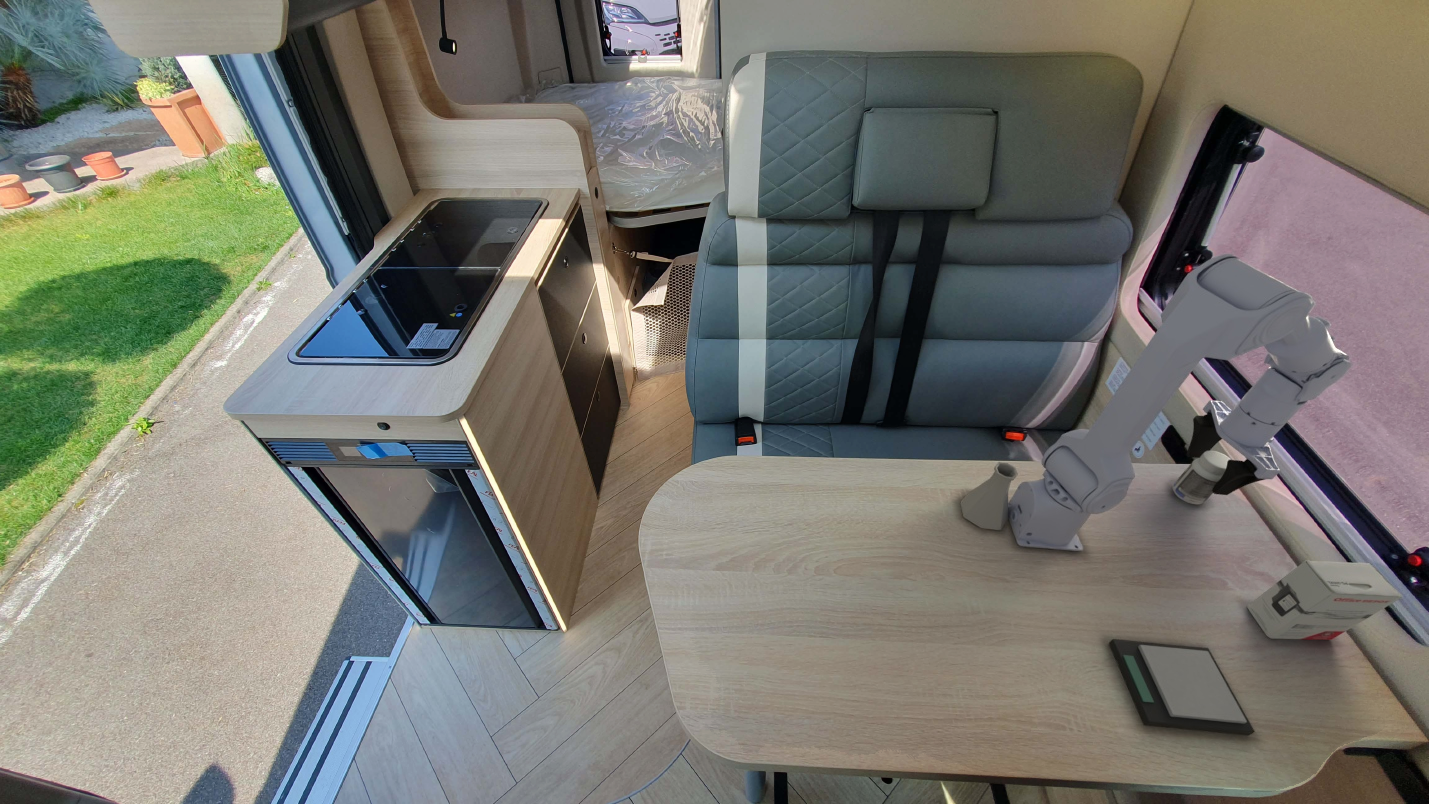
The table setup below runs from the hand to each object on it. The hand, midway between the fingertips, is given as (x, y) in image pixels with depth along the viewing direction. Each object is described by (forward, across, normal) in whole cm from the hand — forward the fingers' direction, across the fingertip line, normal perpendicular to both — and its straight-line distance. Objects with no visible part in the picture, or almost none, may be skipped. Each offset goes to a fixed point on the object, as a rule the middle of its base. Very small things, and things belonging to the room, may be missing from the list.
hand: (1206, 473), depth 92 cm
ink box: (+5, -22, -2) cm, 23 cm away
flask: (+5, -7, +35) cm, 36 cm away
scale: (+5, -32, +18) cm, 38 cm away
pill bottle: (+5, 0, 0) cm, 5 cm away
